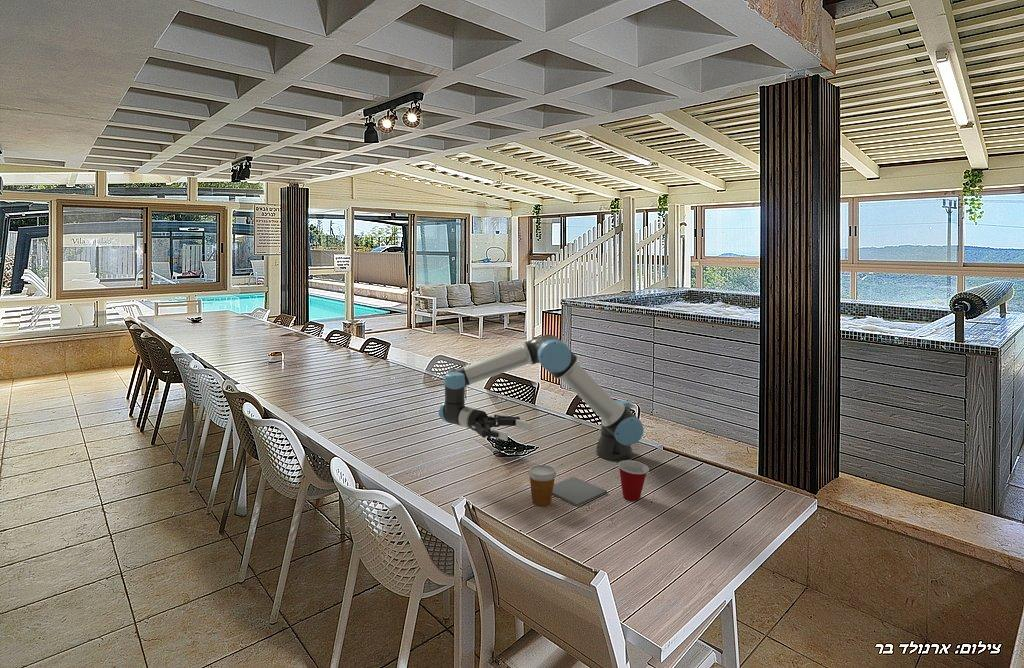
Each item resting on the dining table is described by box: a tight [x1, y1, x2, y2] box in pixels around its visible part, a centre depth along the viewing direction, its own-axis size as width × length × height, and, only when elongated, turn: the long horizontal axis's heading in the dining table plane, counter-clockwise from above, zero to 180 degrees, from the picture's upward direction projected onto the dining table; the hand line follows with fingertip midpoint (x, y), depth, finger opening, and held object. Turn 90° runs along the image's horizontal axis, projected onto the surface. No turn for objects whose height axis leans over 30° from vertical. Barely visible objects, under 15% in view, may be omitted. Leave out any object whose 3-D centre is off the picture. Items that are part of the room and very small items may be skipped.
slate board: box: [552, 476, 608, 507], centre depth 205 cm, size 16×16×1 cm
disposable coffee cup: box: [527, 464, 557, 508], centre depth 195 cm, size 10×10×12 cm
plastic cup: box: [617, 459, 650, 502], centre depth 200 cm, size 11×11×12 cm
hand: (519, 431), depth 198 cm, fingers open, 13 cm apart
